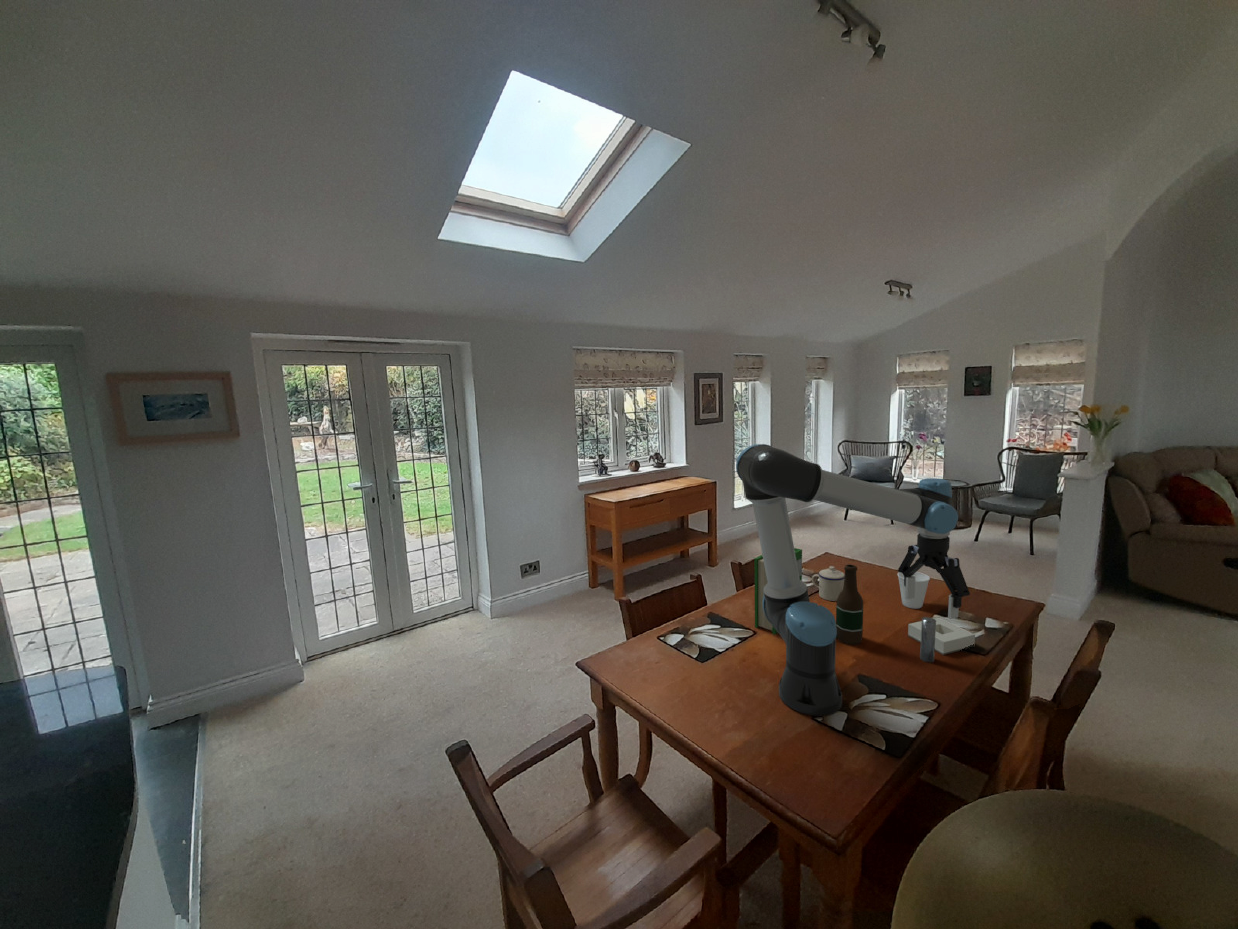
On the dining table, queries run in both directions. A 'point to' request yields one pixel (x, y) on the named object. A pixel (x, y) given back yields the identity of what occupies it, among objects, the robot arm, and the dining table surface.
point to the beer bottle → (849, 610)
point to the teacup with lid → (829, 583)
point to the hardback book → (759, 589)
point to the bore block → (944, 636)
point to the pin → (928, 639)
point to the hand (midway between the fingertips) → (930, 607)
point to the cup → (920, 590)
